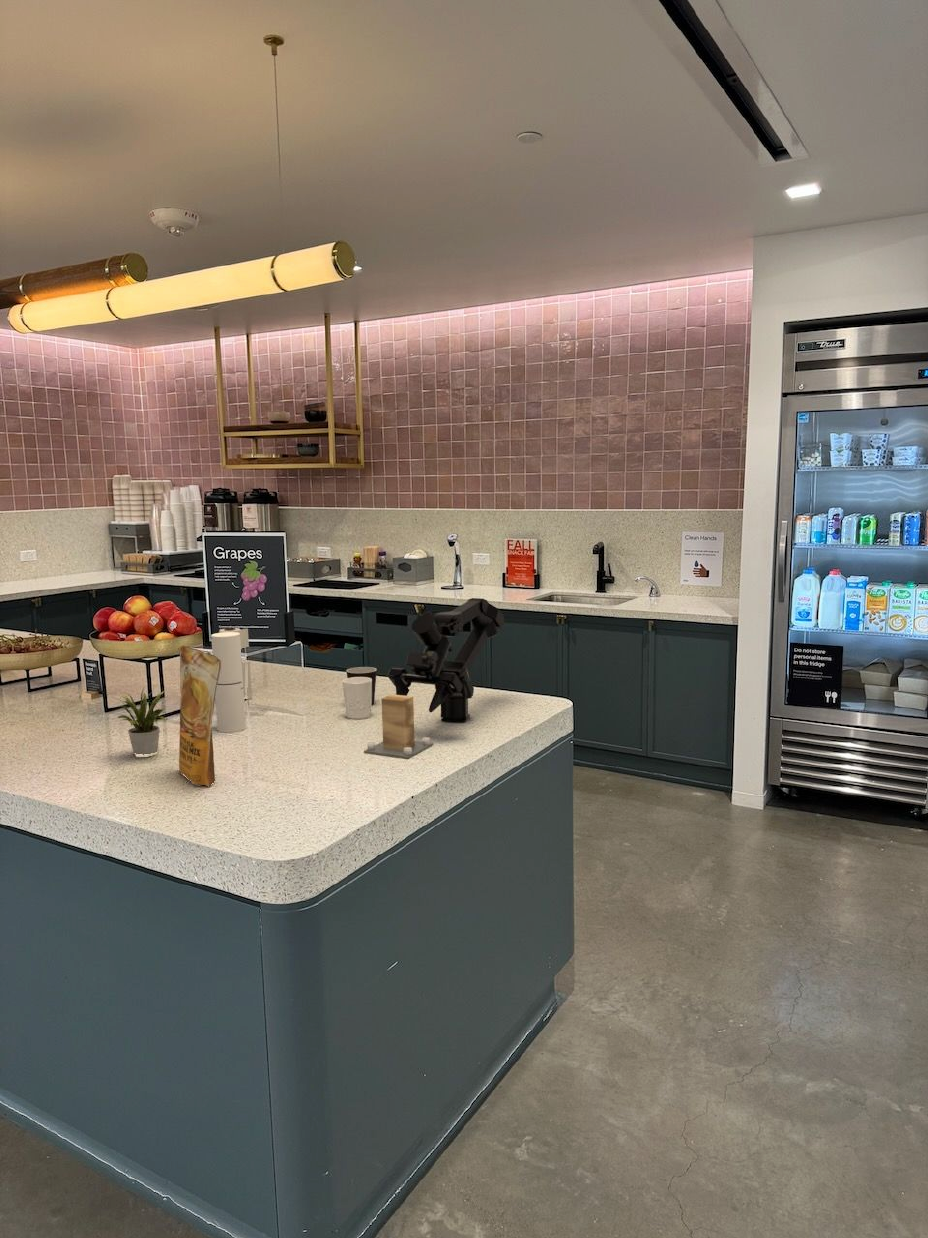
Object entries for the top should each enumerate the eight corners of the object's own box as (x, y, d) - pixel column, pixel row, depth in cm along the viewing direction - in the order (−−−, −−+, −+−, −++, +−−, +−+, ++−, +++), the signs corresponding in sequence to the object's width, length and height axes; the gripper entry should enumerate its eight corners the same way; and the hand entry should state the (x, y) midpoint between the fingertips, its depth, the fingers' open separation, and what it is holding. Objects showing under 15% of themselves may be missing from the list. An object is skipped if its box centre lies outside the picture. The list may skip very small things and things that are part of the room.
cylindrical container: (211, 731, 234) (205, 635, 230) (230, 724, 240) (224, 631, 236) (232, 734, 230) (226, 637, 227) (251, 727, 237) (245, 633, 233)
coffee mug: (372, 708, 253) (371, 673, 252) (343, 707, 255) (342, 672, 253) (384, 698, 264) (383, 665, 263) (356, 697, 266) (355, 664, 265)
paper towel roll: (219, 702, 264) (214, 630, 261) (230, 697, 270) (226, 627, 267) (241, 703, 262) (236, 631, 259) (252, 698, 268) (247, 627, 264)
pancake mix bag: (201, 763, 207) (193, 642, 203) (231, 785, 191) (223, 655, 187) (171, 769, 203) (162, 646, 199) (199, 791, 187) (190, 659, 183)
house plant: (104, 767, 205) (98, 697, 202) (111, 750, 218) (105, 684, 216) (170, 761, 209) (165, 692, 206) (173, 745, 222) (168, 680, 219)
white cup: (375, 712, 249) (374, 676, 247) (370, 719, 241) (368, 683, 240) (347, 712, 250) (346, 676, 248) (341, 719, 242) (339, 683, 240)
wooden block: (393, 742, 218) (391, 694, 216) (414, 745, 215) (413, 696, 213) (383, 748, 214) (381, 698, 212) (404, 750, 211) (403, 700, 209)
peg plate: (390, 739, 222) (390, 731, 222) (433, 745, 217) (433, 736, 217) (363, 752, 212) (363, 744, 211) (408, 759, 206) (407, 750, 206)
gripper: (389, 636, 226) (367, 689, 218) (455, 640, 217) (434, 696, 209) (406, 660, 234) (386, 712, 226) (471, 665, 225) (451, 720, 218)
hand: (413, 709), depth 220 cm, fingers open, 9 cm apart
